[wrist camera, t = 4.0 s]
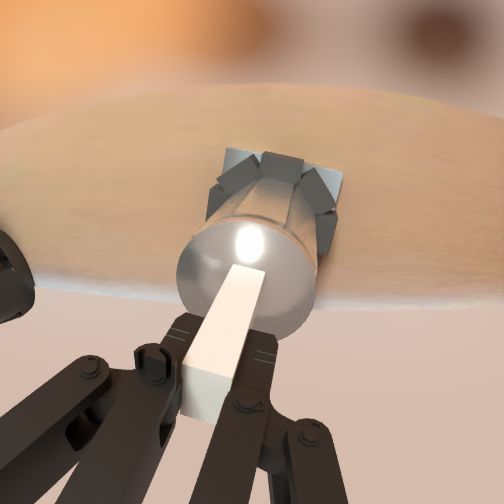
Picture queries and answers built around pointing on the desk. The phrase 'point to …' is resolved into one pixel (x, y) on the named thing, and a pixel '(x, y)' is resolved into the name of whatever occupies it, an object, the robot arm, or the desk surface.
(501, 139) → the desk surface
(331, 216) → the ring
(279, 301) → the silver metal cylinder
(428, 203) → the desk surface
